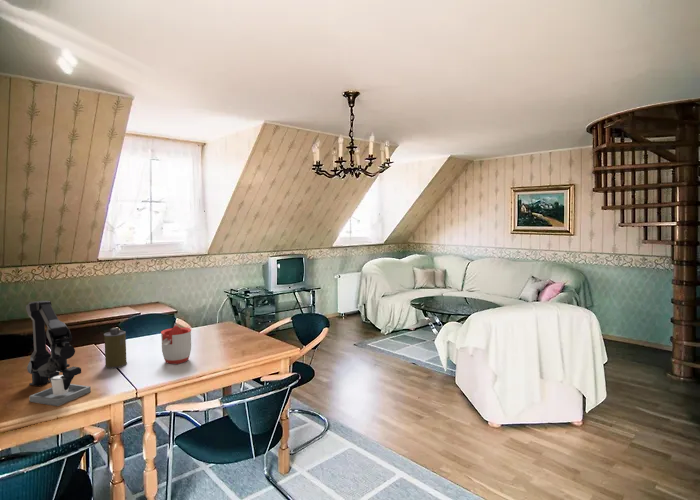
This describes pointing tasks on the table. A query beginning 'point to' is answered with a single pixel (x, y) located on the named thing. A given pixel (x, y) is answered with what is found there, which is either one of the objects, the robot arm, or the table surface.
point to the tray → (57, 400)
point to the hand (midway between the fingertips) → (60, 389)
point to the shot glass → (58, 385)
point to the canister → (115, 348)
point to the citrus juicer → (176, 344)
